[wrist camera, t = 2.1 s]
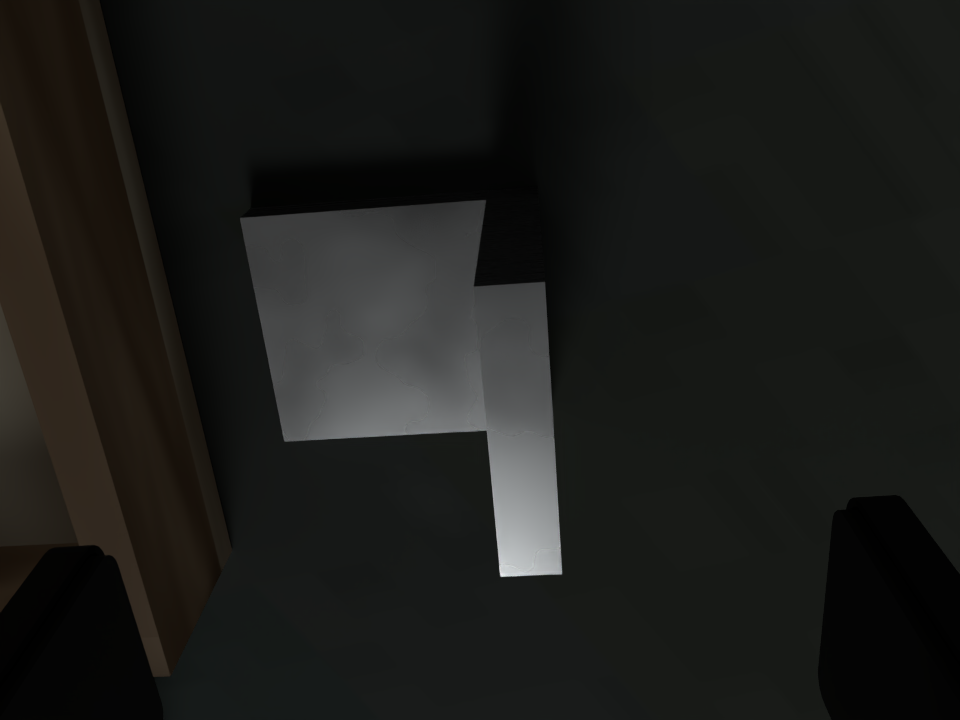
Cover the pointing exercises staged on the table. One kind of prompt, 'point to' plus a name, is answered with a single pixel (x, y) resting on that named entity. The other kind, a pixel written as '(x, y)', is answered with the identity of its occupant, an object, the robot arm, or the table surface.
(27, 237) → the wooden tray
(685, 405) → the table surface
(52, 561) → the robot arm
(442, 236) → the bracket
